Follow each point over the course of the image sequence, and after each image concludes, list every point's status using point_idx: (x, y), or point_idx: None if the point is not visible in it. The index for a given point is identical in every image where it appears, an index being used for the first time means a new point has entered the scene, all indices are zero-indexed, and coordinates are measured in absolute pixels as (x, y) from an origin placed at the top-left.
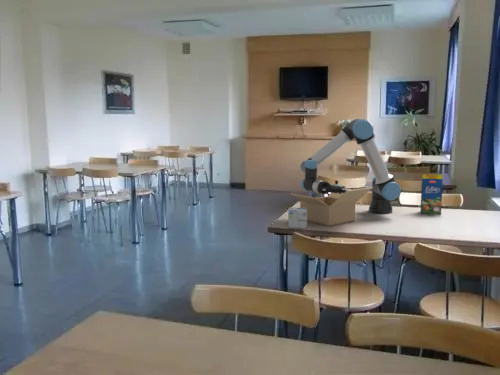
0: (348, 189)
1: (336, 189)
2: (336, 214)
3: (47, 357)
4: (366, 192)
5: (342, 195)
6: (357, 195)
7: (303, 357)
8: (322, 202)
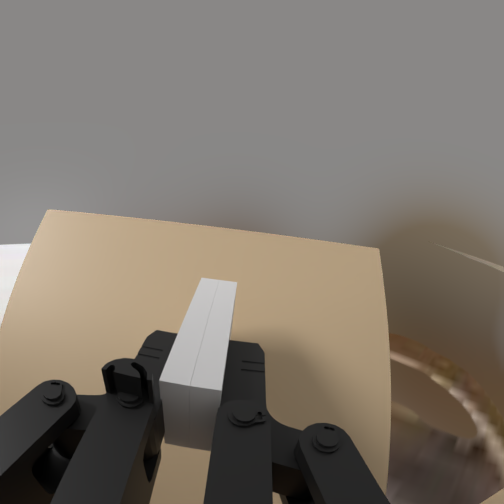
0: (226, 298)
1: (346, 447)
2: None
3: None
4: (34, 279)
5: (383, 321)
6: (107, 334)
7: (496, 266)
8: (485, 501)
